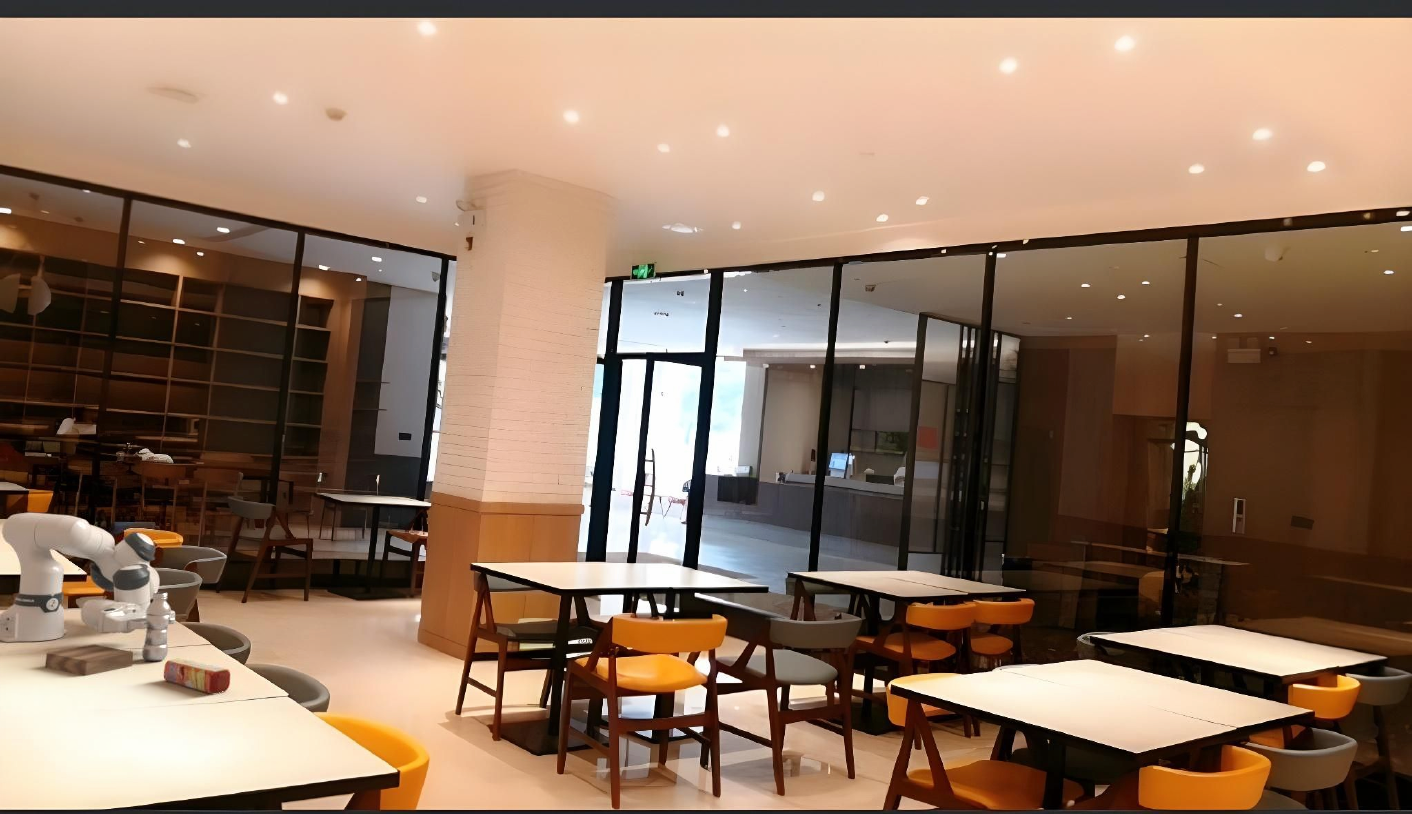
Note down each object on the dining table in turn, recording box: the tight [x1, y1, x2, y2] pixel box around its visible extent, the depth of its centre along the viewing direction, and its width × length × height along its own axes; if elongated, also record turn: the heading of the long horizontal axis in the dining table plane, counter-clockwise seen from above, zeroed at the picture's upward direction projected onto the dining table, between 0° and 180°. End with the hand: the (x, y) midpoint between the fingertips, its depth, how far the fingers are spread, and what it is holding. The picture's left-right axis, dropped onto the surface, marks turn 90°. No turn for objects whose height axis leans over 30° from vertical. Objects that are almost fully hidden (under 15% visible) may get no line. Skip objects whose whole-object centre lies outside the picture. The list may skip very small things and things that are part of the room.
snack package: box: [163, 657, 231, 695], centre depth 255 cm, size 21×7×7 cm, turn 61°
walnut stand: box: [45, 644, 134, 676], centre depth 268 cm, size 16×14×4 cm
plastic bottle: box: [141, 591, 172, 662], centre depth 280 cm, size 6×7×20 cm
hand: (159, 623), depth 280 cm, fingers open, 8 cm apart
